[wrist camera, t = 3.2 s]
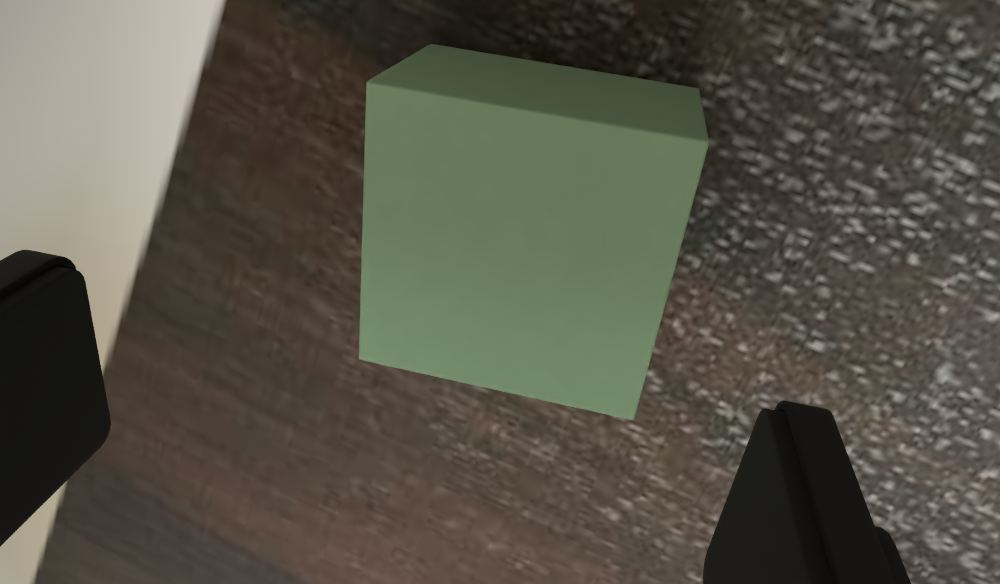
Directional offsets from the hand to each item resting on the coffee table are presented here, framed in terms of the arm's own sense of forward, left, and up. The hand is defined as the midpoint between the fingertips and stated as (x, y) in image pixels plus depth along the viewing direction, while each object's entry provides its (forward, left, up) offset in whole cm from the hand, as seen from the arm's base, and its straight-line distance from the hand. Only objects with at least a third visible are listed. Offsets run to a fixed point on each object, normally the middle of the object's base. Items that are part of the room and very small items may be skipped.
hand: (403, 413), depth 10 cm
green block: (0, +1, -9) cm, 9 cm away
